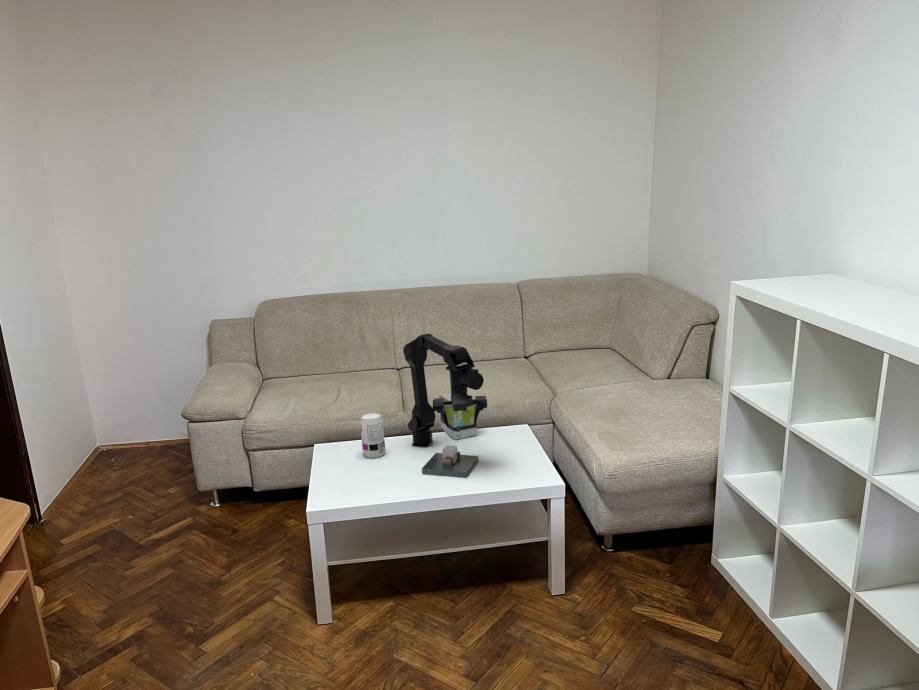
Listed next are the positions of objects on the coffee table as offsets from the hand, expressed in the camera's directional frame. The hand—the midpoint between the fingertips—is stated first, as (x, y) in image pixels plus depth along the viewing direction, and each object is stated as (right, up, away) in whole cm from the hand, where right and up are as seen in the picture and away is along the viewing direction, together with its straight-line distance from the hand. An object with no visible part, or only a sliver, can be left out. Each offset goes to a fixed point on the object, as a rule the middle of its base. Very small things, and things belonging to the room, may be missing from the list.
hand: (461, 426), depth 251 cm
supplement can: (-32, -12, +15) cm, 38 cm away
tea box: (-1, -6, +32) cm, 33 cm away
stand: (-4, -14, -1) cm, 15 cm away
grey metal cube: (-4, -12, -1) cm, 13 cm away
